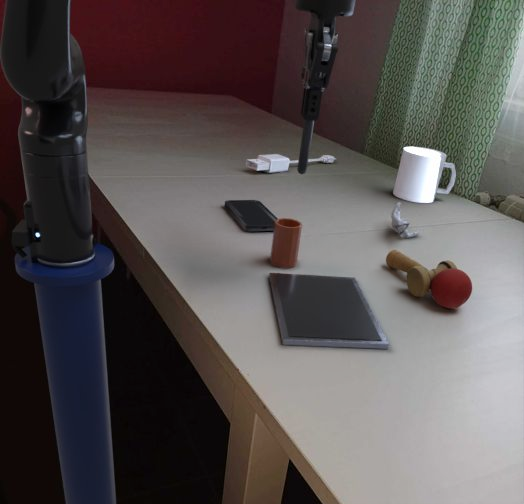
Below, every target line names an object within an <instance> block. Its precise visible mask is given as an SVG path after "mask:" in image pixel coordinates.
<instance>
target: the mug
mask: <svg viewBox="0 0 524 504" xmlns="http://www.w3.org/2000/svg"><path fill="white" fill-rule="evenodd" d="M401 153H402V154H401V157H400V162H399V165H398V170H397V175H396V180H395V182H394V186H393V187H394V188H393V191H392V194H393V195H394V196H395V197H397V198H399V199H401V200H404V201H408V202H412V203H420V204H429V203H433V202H435V198H436V196H437V194H443V195H449V193H450V192H451V190H452V189H453V187H454V186H455V182H456V178H457V172H456V165H455V164H454V163H453V162H447V161H446V160H447V156H448V155H447V154H446V153H445V152H443V151H441V150H437V149H433V148H428V147H423V146H404V147H403V148H402V152H401ZM444 168H447V169H450V171H451V176H450V180H449V183H448V185H447V186H446V187H445V188H441V187H439V184H440V181H441V177H442V174H443V170H444Z"/></svg>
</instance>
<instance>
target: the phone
mask: <svg viewBox="0 0 524 504" xmlns="http://www.w3.org/2000/svg"><path fill="white" fill-rule="evenodd" d="M224 209H225V210H226V211H227V212H228V213H229V214H230V216H231V217H232V218H233V219H234V220H235V221H236V223H237V224H238V225H239V226H240V227H241V228H242V229H243V230H244V231H245V232H250V233H255V232H256V233H258V232H273V231H274V223H275V220H277V219H279V218H278V217H277V216H276V215H275V214H273V212H271V210H270V209H269V208H267V206H266V205H264V204H263V202H262V201H260V200H258V199H226V200H224Z"/></svg>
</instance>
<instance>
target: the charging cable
mask: <svg viewBox="0 0 524 504" xmlns="http://www.w3.org/2000/svg"><path fill="white" fill-rule="evenodd" d="M336 160H337V158H335V156H333V155H330V154H323V155H321V156H319V158H309V159H308V163H311V162H321V163H325V164H334V161H336ZM298 161H299V159H295V160H290V158H289V157H287V156H284V155H281V154H279V153H273V154H259V155H257V157H256V158H251V159H246V160H245V167H247V168H248V169H251V170H255V171H263V172H265V173H268V174H271V173H283V172H288V171H289V166H290V164H298Z"/></svg>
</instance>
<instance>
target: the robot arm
mask: <svg viewBox="0 0 524 504" xmlns="http://www.w3.org/2000/svg"><path fill="white" fill-rule="evenodd" d="M355 5H356V0H295V3H294V8H295V9H296V10H297V11H299V12H305V13H309V14H310V15H311V16H310V20H309V25H308V28H304V30H303V37H302V44H303V45H302V59H301V75H300V77H301V80H302V81H301V84H302V87H303V88H302V89H303V91H302V98H301V105H300V116H301V117H302V118H303V120H304V119H305V120H312V121H314V122H316V121H318V120H319V117H320V110H321V104H322V97H323V93H324V92H325V89H328V87H329V85H330V79H331V75H332V71H333V68H334V65H335V60H336V58H337V57H336V56H337V54H338V51H339V47H338V40H339V39H338V38H339V33H338V32H336V19H337V18H338V17H345V18H347V17H348V18H349V17H351V16H353V14H354V10H355ZM71 6H72V0H5V6H4V14H3V22H2V29H1V35H0V36H1V37H0V64H1V65H0V66H1V69H2V71H3V74H4V77H5V79H6V81H7V83H8V84H9V86H10V87H11V88H12V89H13V90H14V91H15V92H16V93H17V94H18V95H19V96H20V97H21V98H20V99H21V117H20V122H19V126H18V130H17V136H18V144H19V151H20V159H21V164H22V171H23V178H24V185H25V193H26V200H25V202H24V203H23V212H24V219H21V220H20V221H19V223H18V224H17V225H16V226H15V227H14V228H13V230H12V231H11V235H12V237H11V240H10V241H11V242H10V243H11V247H12V248H13V250H14V252H16V254H17V253H18V254H19V255H20V256H21V257H22V258H24V257H25V256H27V254H26V253H25V252H24V251H23V250H22V249H23V248H25V247H29V248H30V255H31V262H32V263H39V264H41V265H44V266H47V267H52V268H74V267H79V266H83V265H86V264H88V263H90V262H92V261H93V260H94V258H95V250H94V245H95V247H96V248H97V246H96V243H97V239H96V237H95V236H94V229H93V216H92V215H93V213H92V202H91V188H90V177H89V165H88V163H89V161H88V150H87V147H88V146H87V134H88V127H89V124H88V123H89V114H88V94H87V92H88V91H87V76H86V75H87V74H86V65H85V60H84V55H83V51H82V49H81V47H80V45H79V43H78V41H77V40H76V38H75V37H74V35H72V33H71V9H72V7H71ZM21 247H23V248H21Z"/></svg>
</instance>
